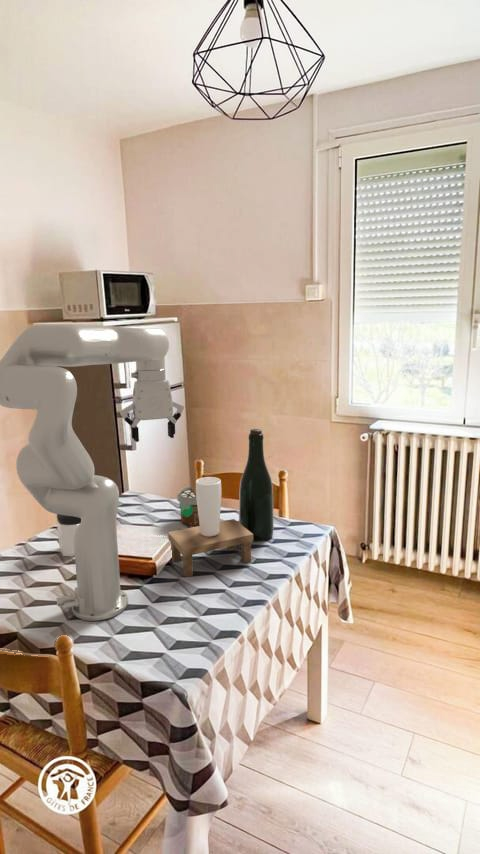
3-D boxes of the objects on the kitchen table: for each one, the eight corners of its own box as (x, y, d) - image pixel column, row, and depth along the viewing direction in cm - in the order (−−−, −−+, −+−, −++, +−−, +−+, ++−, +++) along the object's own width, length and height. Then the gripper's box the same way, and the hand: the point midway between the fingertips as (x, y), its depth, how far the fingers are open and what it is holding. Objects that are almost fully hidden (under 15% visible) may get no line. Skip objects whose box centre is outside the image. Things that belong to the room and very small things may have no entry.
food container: (174, 516, 175) (173, 487, 173) (192, 514, 177) (192, 486, 175) (182, 530, 164) (181, 500, 162) (201, 528, 165) (200, 498, 163)
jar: (57, 547, 153) (53, 508, 150) (85, 541, 157) (82, 503, 154) (64, 559, 145) (61, 519, 143) (93, 552, 149) (90, 513, 147)
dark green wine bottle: (232, 534, 161) (230, 429, 154) (257, 525, 168) (256, 424, 160) (255, 545, 153) (254, 435, 146) (280, 535, 160) (281, 429, 153)
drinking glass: (218, 539, 138) (217, 485, 135) (194, 537, 140) (192, 484, 136) (224, 529, 145) (223, 477, 141) (201, 527, 146) (199, 476, 143)
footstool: (184, 578, 135) (183, 549, 133) (169, 559, 145) (167, 532, 143) (253, 561, 143) (253, 534, 142) (234, 544, 154) (233, 518, 152)
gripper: (121, 379, 132) (125, 445, 136) (186, 375, 139) (188, 438, 143) (115, 376, 139) (118, 439, 142) (177, 372, 146) (179, 432, 149)
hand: (153, 438), depth 142 cm, fingers open, 9 cm apart
